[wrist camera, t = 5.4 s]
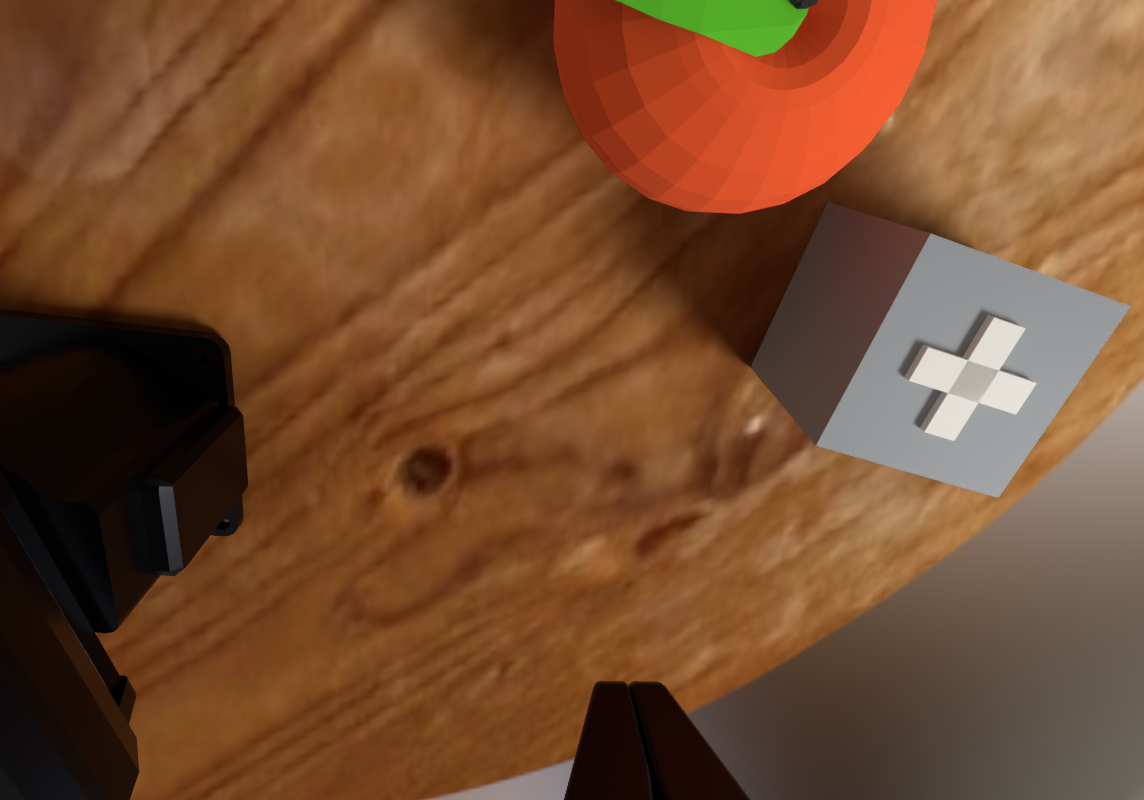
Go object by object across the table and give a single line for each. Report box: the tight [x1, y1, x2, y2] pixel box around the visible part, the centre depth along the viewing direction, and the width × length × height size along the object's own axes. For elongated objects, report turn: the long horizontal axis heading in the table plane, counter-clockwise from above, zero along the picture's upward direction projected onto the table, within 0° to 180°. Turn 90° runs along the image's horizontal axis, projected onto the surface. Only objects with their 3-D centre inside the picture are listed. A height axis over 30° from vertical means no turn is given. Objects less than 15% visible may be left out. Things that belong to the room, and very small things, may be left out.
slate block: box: [751, 202, 1131, 498], centre depth 16 cm, size 5×5×5 cm
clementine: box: [553, 0, 937, 214], centre depth 12 cm, size 8×7×7 cm
